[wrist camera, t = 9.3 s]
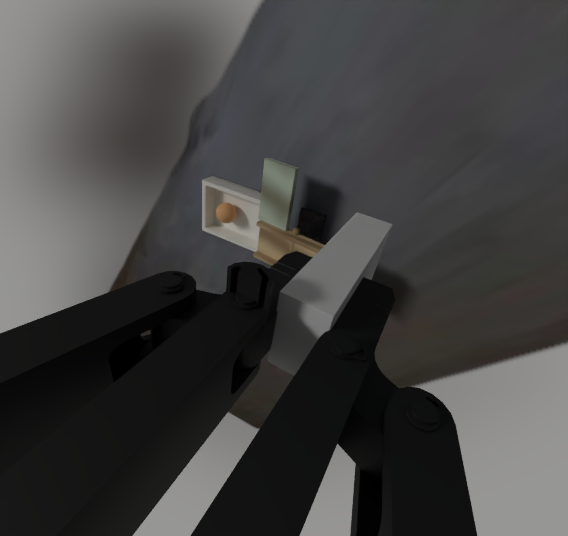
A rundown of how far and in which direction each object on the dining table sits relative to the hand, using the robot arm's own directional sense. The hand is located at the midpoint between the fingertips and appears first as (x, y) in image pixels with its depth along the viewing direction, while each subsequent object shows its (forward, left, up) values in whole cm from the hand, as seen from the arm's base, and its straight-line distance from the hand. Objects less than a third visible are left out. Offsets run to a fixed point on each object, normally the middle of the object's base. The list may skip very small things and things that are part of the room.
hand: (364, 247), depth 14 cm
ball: (+18, -28, -30) cm, 45 cm away
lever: (+14, -12, -26) cm, 32 cm away
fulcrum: (+18, -13, -32) cm, 39 cm away
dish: (+18, -27, -32) cm, 45 cm away
